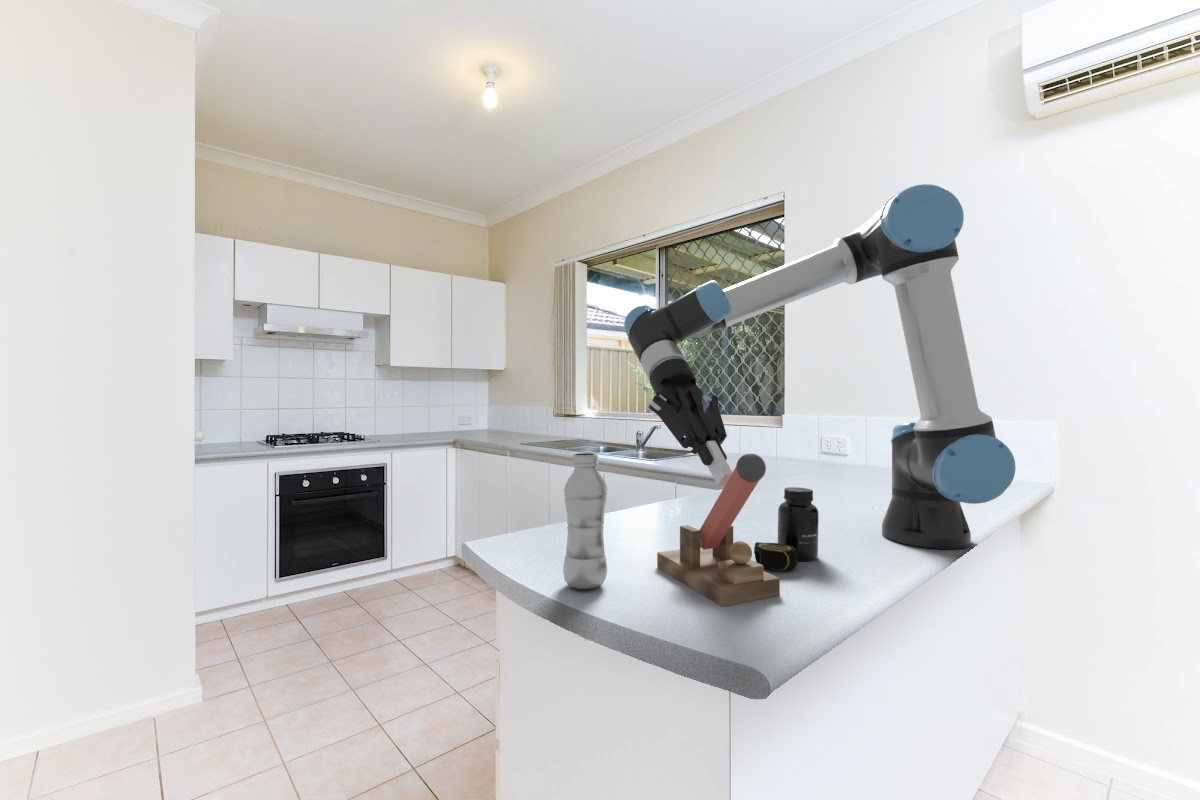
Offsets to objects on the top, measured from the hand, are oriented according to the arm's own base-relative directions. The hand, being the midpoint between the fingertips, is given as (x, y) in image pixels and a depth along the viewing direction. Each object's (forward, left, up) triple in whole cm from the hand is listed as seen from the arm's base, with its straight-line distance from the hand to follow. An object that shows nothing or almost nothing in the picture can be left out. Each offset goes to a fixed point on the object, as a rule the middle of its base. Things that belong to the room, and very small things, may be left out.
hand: (725, 479), depth 81 cm
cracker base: (+1, -3, -16) cm, 16 cm away
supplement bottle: (-16, -16, -16) cm, 28 cm away
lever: (+2, -5, -11) cm, 12 cm away
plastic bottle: (+21, 0, -16) cm, 27 cm away
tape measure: (-10, -10, -17) cm, 22 cm away
